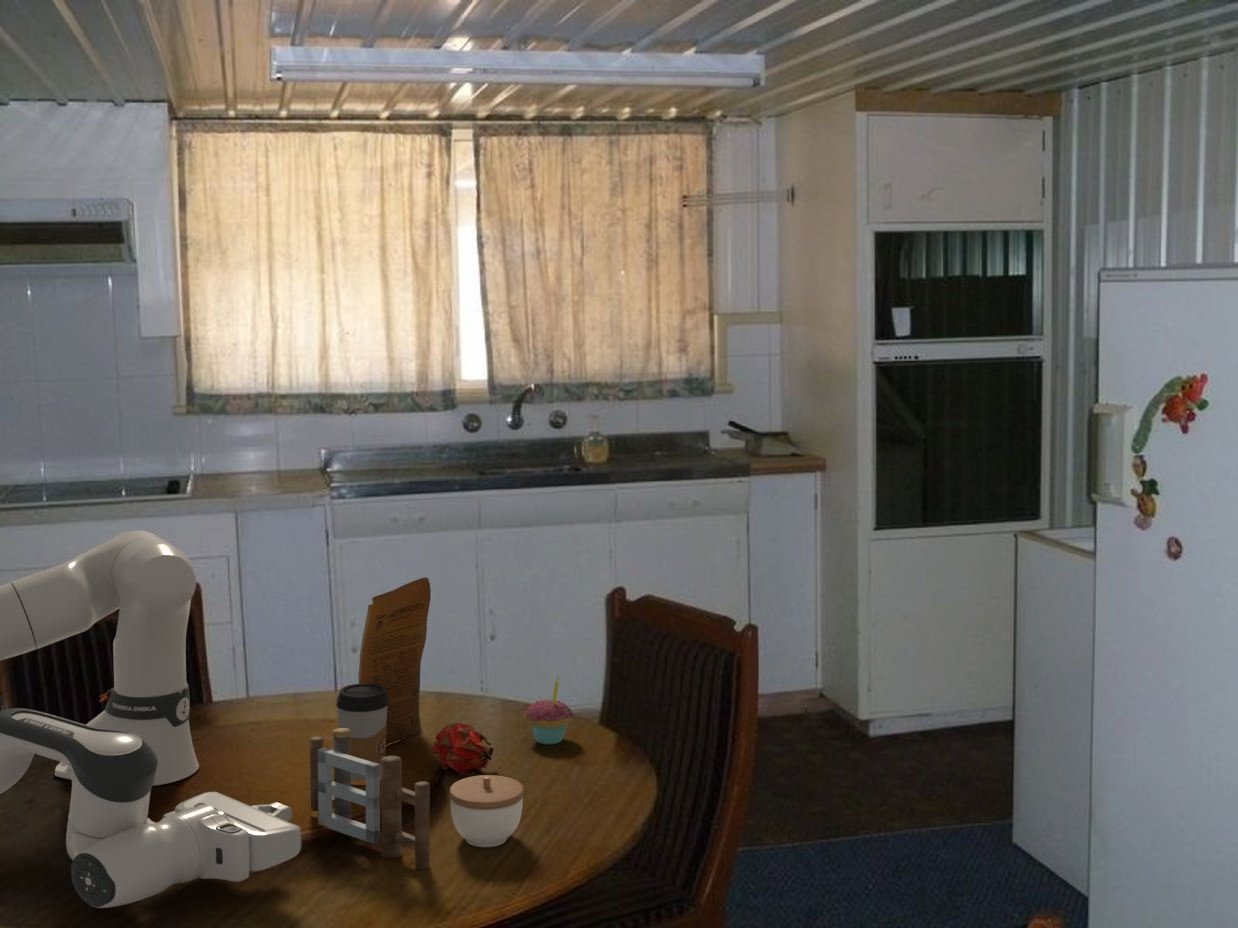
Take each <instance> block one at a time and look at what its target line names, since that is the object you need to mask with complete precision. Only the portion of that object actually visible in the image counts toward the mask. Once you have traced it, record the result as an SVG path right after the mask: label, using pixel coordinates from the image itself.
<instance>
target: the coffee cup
mask: <svg viewBox="0 0 1238 928" xmlns="http://www.w3.org/2000/svg"><path fill="white" fill-rule="evenodd" d="M336 700H337V701H336V707H337V712H338V713H337V714H338V728H348V729H350V730H351V735H350V756H354V757H357V758H360V759H364V760H367V761H371V762H374V763H377V764H380V775H381V759H382V758H384V757H386V747H385V745H386V730H387V725H386V721H387V706H388V704H389V701H388V694H387V693H386V691H385V688H384V687H383V686H381V685H377V684H368V683H363V684H358V683H353V684H350V685H346V686H343V687H341V688H340V689H339V694H338V695H337V698H336ZM351 780H357V781H358V780H366V776H363V775H360V774H356V773H353V772H351Z"/></svg>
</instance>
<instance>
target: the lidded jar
mask: <svg viewBox="0 0 1238 928" xmlns="http://www.w3.org/2000/svg"><path fill="white" fill-rule="evenodd" d="M524 791H525V789H524V785H523V784H522V783H521V782H519V780H516V779H514V778H512V777H508V776H502V775H495V774H491V775H490V774H482V775H472V776H468V777H465V778H462V779H460V780H459V779H458V781H455V782H454V783H453V784H452V785H451V786H450V788H449V798H450V813H451V817H452V818H451V819H452V822H453V825H454V826H455V830H456V831H457V832H458V834H459V835H461V837H462V838H464V839H465V842H466V843H467V844H468V845H470V846H473V847H478V848H492V847H497V846H498V847H499V846H501V845H503V844H504V843H506V842H508V841H507V840H508V838H510V836H512V834H513V833H515V831H516V829H517V828H518V826H519V824H520V821H521V817H522V812H523V811H522V810H523V802H524V801H523V800H524V799H523V798H524Z"/></svg>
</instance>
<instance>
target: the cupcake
mask: <svg viewBox="0 0 1238 928" xmlns="http://www.w3.org/2000/svg"><path fill="white" fill-rule="evenodd" d="M559 678H560V676H557V679H556V680H555V682H554V687H553V695H552V700H550V699H541V700H536V701H535V702H533V703H532V704H530V705H529V706H528V707H527V709H525V713H524V717H523V720H524V721H525V723H527V724H528V725H530V728H531V730H532V732H533V736H534V739H535V741H536V742H537V743H538V744H543V745H555V744H559V743H561V742H562V741H563V738H564V735H565V734H566V733H565V732H566V730H567V728H568V725H569V724H571V723H572V719H573V718H574V712H573V711H572V710H571V708H570V707H569V706H568V705H566V703H565V702H562V701H560V700H558V699H557V697H558V693H559V692H558V691H559V684H560V681H559Z"/></svg>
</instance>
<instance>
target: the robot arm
mask: <svg viewBox="0 0 1238 928" xmlns="http://www.w3.org/2000/svg"><path fill="white" fill-rule="evenodd" d="M196 579H197V578H196V573H195V571H194V567H193V565H192V563H191V561H190V559H189V558H188V556H187V555H186V554H185V553H184V552H183V551H182V550H180V549H179V548H177V547H176V546H174V545H172V544H171V543H169V542H168V541H166V540H164V539H162V538H161V537H159V536H158V535H157V534H155V533H152V532H150V531H147V530H127V531H124V532H120V533H118V534H116V535H114V536H112V538H111V539H110V540H108V541H106V542H103V543H101V544H98V545H97V546H95V547H93V548H91V549H89V550H86V551H85V552H83V553H81V554H79V555H78V556H75V557H73V558H72V559H69V560H67V561H65V562H63V563H61V564H58V565H56V566H52V567H49V568H47V569H44V570H42V571H38V572H36V573H35V572H34V573H33V574H30V575H26V576H24V577H21V578H18V579H15V580H13V581H10V582H7V583H5V584H4V583H3V584H1V585H0V661H2V660H8V659H10V658H15V657H17V656H19V655H21V656H22V655H23V654H27V653H30V652H31V651H35V650H38V649H41V648H44V647H46V646H49V645H52V644H54V643H57V642H61V641H63V640H65V639H67V638H70V637H73V636H75V635H78V634H81V633H83V632H86V631H87V630H89V629H90V628H92V627H93V626H94V624H95V623H97V622H98V621H100V620H102V619H104V618H105V617H107V616H108V615H111V614H112V613H114V612H116V611H117V610H119V612H118V619H117V626H116V628H117V629H116V634H115V637H114V639H113V643H112V647H113V648H112V649H113V650H112V651H113V653H112V654H113V678H114V679H113V681H114V682H113V683H114V687H112V688H110V689H108V690H107V691H106V692H105V693H103V694H101V695H99V698H101V699H99V703H102V702H104V701H106V700H107V703H106V705H105V709H104V710H103V711H102V712H101V713H99V714H98V715H97V716H95V717H94V718H93V719H91V720H90V721H89V722H88V723H86V724H84V723H81V722H77V721H74V720H72V719H68V718H64V717H61V716H59V715H58V716H57V715H54V714H50V713H46V712H44V711H40V710H39V711H38V710H34V709H31V708H30V709H29V708H21V707H20V708H19V707H16V708H7V709H4V701H3V697H2V695H1V694H0V794H2V793H4V792H6V791H7V790H9V789H10V788H11V787H13V786H14V785H15V784H16V783H17V782H18V781H19V780H20V779H21V778H22V777H23V776H24V774H26V772H27V770H29V767H30V766H31V764H32V760H33V758H34V756H35V754H36V755H39V756H42V757H45V758H48V759H51V760H55V761H58V762H59V763H58V764H57V765H56V766H55V769H54V776H55V777H59V778H62V779H65V780H69V781H70V780H71V785H72V786H71V793H70V794H71V795H70V804H69V813H68V818H67V825H66V826H67V827H66V835H65V846H66V848H65V851H66V854H67V856H68V857H69V858H70V860H71V861H72V863H71V867H70V876H71V882H72V884H73V887H74V890H75V892H76V893H77V895H78V896H79V898H81V899H82V900H83V902H85V903H86V904H88V905H89V906H90V907H92V908H96V909H97V908H98V909H104V908H105V909H106V908H115V907H120V906H123V905H124V906H125V905H129V904H132V903H134V902H138V901H141V900H145V899H147V898H150V897H153V896H155V895H158V894H161V893H162V892H163V891H165V890H167V889H168V888H169V887H171V886H172V885H175V884H183V883H189V882H192V881H194V880H197V879H203V880H208V879H209V880H210V879H215V880H223V881H228V882H229V881H230V882H237V883H238V882H242V881H244V880H246V879H248V878H249V877H250V872H260V871H263V870H267V869H270V868H272V867H274V866H275V867H276V866H277V865H280V864H282V863H284V862H286V861H289V860H291V859H293V858H294V857H296V856H297V855H298V854H299V853H300V851H301V850H302V829H301V827H300V826H299V825H297V824H294V823H291V822H289V820H291V818H292V816H293V813H292V809H293V808H292V807H290V806H288V805H284V804H283V803H280V802H278V801H275V802H273V803H270V804H256V805H255V804H254V805H251V806H250V805H249V804H246V803H244V802H242V801H239V800H236V799H235V798H232V797H230V796H227V795H226V794H222V793H220V792H218V791H208V792H207V791H205V792H202V793H201V794H198V795H195V796H193V797H191V798H188V799H186V800H183V801H182V802H180V803H179V804H177V805H176V806H175V807H174V810H173V811H169V812H167V813H164V814H163V816H162V818H161V820H160V821H158V822H155V821H153V820H151V819H150V818H149V817H148V815H149V809H150V808H149V807H150V806H149V805H150V799H151V798H150V797H151V791H152V788H153V786H160V785H165V784H171V783H174V782H177V781H181V780H183V779H187V778H188V777H190V776H192V775H193V774H195V773H197V771H198V769H199V767H200V764H199V762H198V759H197V756H196V753H195V748H194V745H193V744H194V743H193V740H192V735H191V729H190V722H189V721H190V711H191V710H190V709H191V708H190V707H191V704H190V703H191V700H190V699H191V697H190V684H189V683H188V682H187V663H186V662H187V660H186V659H187V657H186V656H187V655H186V652H187V651H186V649H187V648H186V643H187V642H186V640H187V639H186V637H187V628H188V623H189V617H190V610H191V602H192V598H193V596H194V593H195V590H196V586H197V584H196V583H197V580H196Z"/></svg>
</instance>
